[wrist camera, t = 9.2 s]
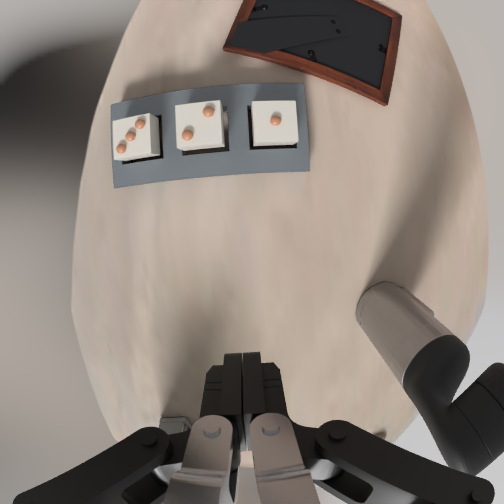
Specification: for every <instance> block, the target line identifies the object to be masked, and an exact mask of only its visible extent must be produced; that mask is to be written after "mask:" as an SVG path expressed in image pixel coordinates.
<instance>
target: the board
mask: <svg viewBox="0 0 504 504" xmlns="http://www.w3.org/2000/svg"><path fill="white" fill-rule="evenodd" d="M216 100H220V102H221V105H222V108H223V112H225V111H227V115H228V133H229V150H230V151H227V152H215V153H204V154H194V155H187V151H183V150H181V149H178V148H177V141H176V118H175V106H176V105H182V104H190V103H198V102H206V101H216ZM252 101H296V112H297V126H298V140H299V142H297V143H295V144H293V148H289V149H259V150H250V146H249V130H248V114H247V110H251V105H252ZM148 113H150V114H152V115H153V116H155V117H157V118H158V119H159V120H161V119H162V138H163V156H164V158H162V159H155V160H149V161H142V162H136V163H130V160H127V161H122V160H114V153H113V121H115V120H119V119H124V118H128V117H133V116H138V115H142V114H148ZM111 149H112V167H113V180H114V188H120V187H127V186H134V185H140V184H148V183H155V182H163V181H172V180H180V179H190V178H200V177H211V176H223V175H237V174H252V173H273V172H305V171H310V159H309V142H308V127H307V114H306V102H305V92H304V83H253V84H235V85H222V86H211V87H202V88H194V89H186V90H180V91H173V92H167V93H161V94H156V95H151V96H146V97H141V98H136V99H132V100H128V101H123V102H119V103H115V104H112V105H111Z"/></svg>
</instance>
